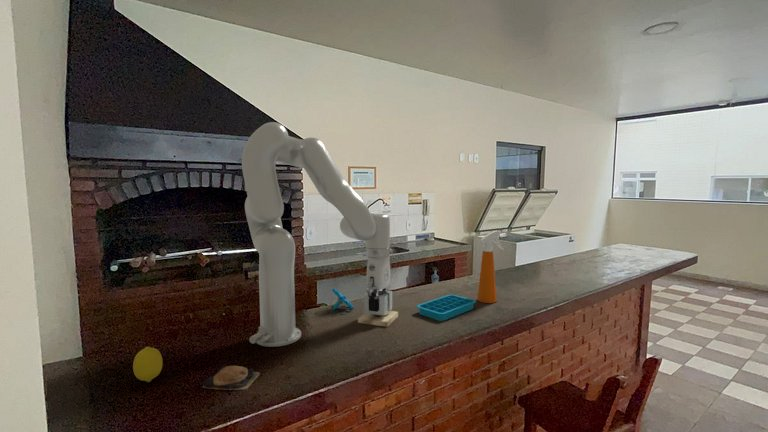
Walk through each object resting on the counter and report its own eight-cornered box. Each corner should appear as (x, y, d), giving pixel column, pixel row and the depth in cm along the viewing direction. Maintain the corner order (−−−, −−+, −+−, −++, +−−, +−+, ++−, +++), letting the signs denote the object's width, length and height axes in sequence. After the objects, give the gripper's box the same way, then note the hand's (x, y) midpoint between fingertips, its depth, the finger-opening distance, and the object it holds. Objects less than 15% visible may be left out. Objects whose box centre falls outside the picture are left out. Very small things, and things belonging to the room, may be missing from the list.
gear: (356, 308, 127) (335, 288, 126) (344, 322, 126) (322, 301, 125) (354, 303, 138) (334, 284, 137) (342, 315, 137) (322, 296, 136)
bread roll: (262, 374, 87) (262, 359, 87) (244, 394, 79) (244, 377, 78) (219, 372, 88) (219, 356, 88) (197, 391, 80) (196, 374, 80)
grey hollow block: (364, 312, 119) (363, 294, 118) (372, 306, 125) (372, 288, 125) (384, 315, 116) (384, 296, 116) (392, 308, 123) (392, 290, 122)
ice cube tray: (477, 309, 132) (477, 300, 131) (442, 323, 118) (442, 314, 118) (450, 301, 140) (450, 294, 140) (414, 314, 126) (414, 306, 126)
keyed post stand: (357, 322, 118) (357, 301, 118) (370, 312, 127) (370, 292, 127) (387, 326, 114) (387, 304, 114) (398, 316, 124) (398, 295, 123)
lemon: (168, 375, 86) (166, 341, 85) (154, 388, 80) (152, 352, 79) (143, 375, 85) (141, 341, 85) (128, 388, 80) (125, 352, 79)
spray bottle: (508, 301, 140) (510, 231, 138) (485, 304, 136) (486, 232, 134) (496, 295, 146) (497, 229, 144) (473, 299, 142) (474, 230, 140)
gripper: (378, 258, 110) (378, 317, 111) (398, 249, 126) (398, 300, 127) (355, 256, 112) (356, 314, 114) (377, 247, 129) (377, 298, 130)
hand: (378, 306), depth 121 cm, fingers closed on grey hollow block, 6 cm apart
